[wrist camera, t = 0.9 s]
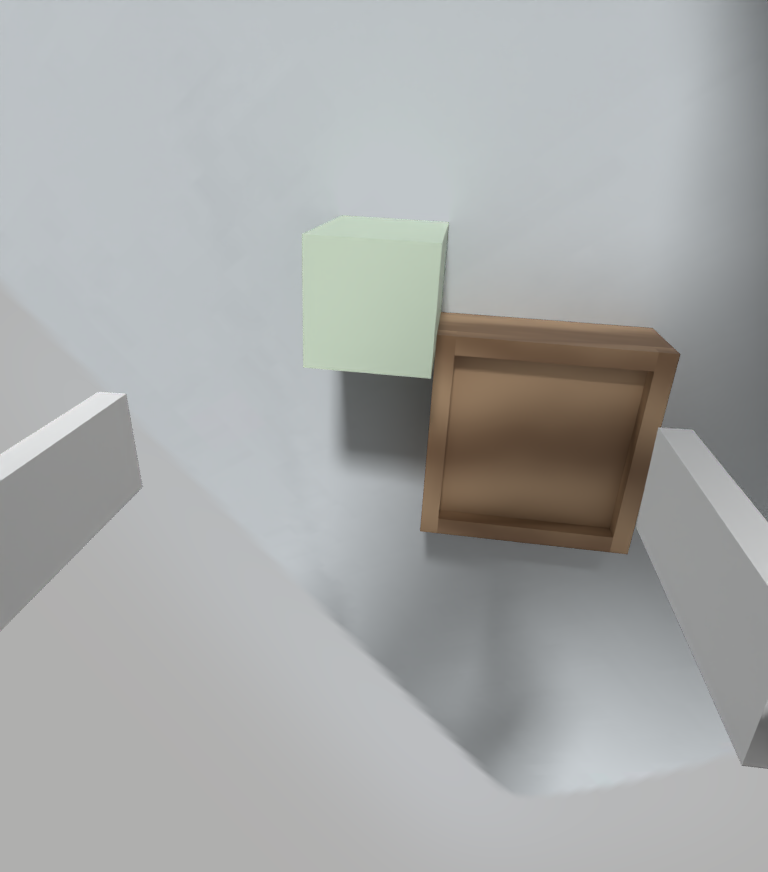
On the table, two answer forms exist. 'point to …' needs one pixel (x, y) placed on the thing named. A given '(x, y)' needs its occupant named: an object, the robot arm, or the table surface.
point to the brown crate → (543, 429)
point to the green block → (373, 295)
